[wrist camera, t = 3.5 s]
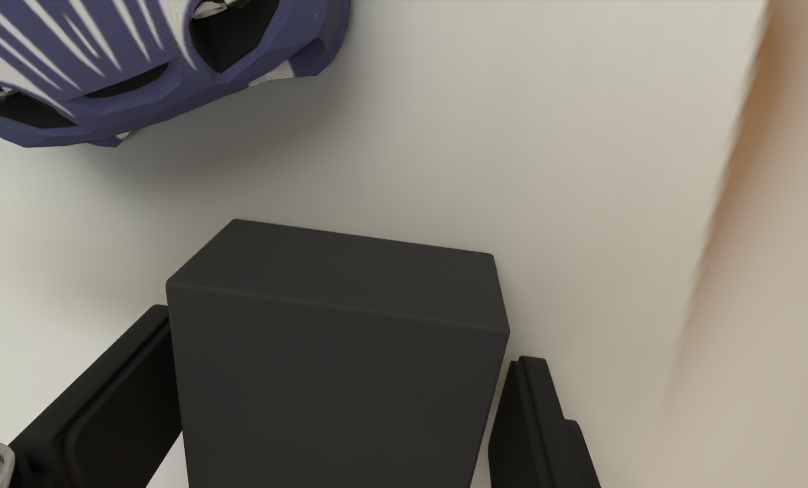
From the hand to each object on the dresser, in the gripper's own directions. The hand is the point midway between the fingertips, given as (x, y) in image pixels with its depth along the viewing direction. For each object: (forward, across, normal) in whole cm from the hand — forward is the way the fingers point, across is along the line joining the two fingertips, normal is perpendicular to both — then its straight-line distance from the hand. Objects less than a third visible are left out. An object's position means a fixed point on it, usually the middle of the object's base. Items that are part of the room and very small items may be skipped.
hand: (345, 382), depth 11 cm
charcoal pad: (+1, 0, 0) cm, 1 cm away
